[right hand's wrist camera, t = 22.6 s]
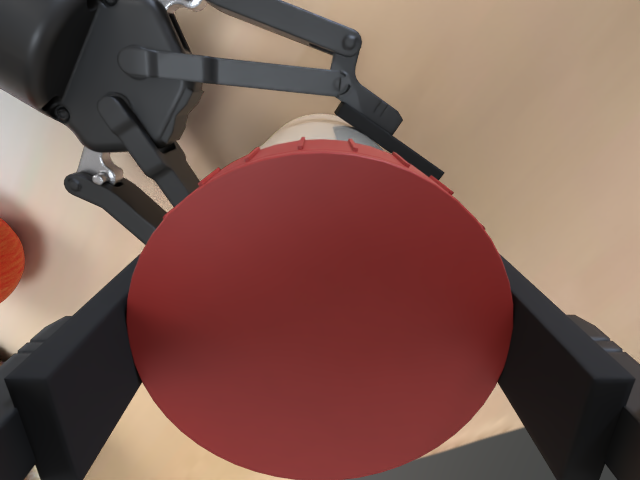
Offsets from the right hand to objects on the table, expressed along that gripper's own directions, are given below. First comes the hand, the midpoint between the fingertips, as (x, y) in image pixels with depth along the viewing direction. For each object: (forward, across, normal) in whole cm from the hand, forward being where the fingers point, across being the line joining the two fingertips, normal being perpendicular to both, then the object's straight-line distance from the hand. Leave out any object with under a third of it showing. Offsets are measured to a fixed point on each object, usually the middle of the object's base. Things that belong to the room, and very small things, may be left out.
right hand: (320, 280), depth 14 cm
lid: (-3, 0, 0) cm, 3 cm away
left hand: (+10, -4, +2) cm, 11 cm away
